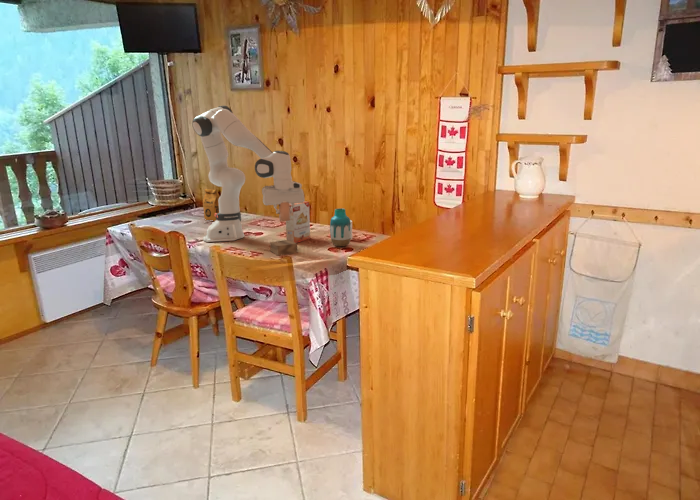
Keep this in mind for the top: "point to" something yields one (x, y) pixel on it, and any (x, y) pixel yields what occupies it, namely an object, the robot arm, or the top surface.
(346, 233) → the vase
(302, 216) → the cracker box
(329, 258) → the top surface
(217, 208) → the coffee package
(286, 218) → the canister
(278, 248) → the walnut block
